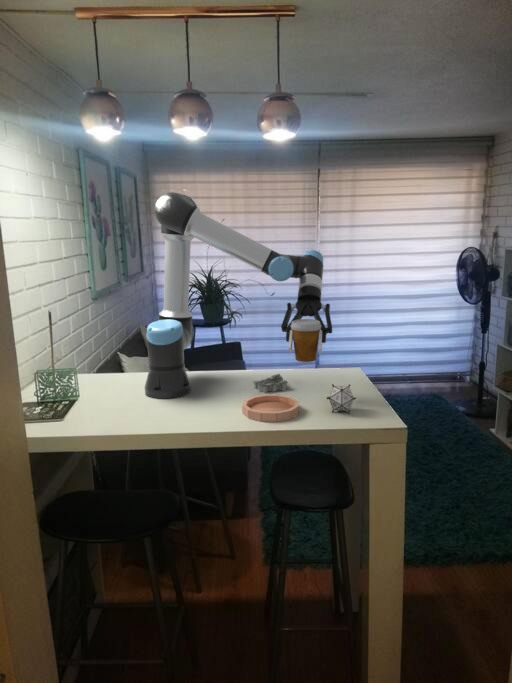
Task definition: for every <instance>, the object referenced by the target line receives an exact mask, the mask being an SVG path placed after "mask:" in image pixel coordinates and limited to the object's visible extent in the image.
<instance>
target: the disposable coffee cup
mask: <svg viewBox="0 0 512 683" xmlns="http://www.w3.org/2000/svg"><path fill="white" fill-rule="evenodd" d="M291 321H292V320H291ZM290 327H291V329H292V334H293V342H292V343H293V348H294V349H293V350H294V355H295V356H294V357H295V360H296V361H298V362H301V363H311V362H315V361H316V360H317V353H318V348H319V335H320V331H321V330H320V329H321V324H320V321H318V320H315V319H310V318H303V319H302V318H301V319H299V320H294V321H292V324H291V326H290Z"/></svg>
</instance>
